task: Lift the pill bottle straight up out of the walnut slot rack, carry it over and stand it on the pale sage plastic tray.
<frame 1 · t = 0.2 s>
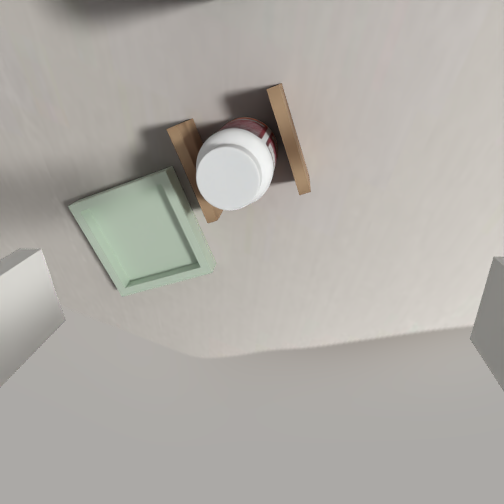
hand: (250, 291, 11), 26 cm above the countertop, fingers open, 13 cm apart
pill bottle: (247, 149, 35), on the countertop
rack: (247, 149, 35), on the countertop
tray: (148, 232, 40), on the countertop
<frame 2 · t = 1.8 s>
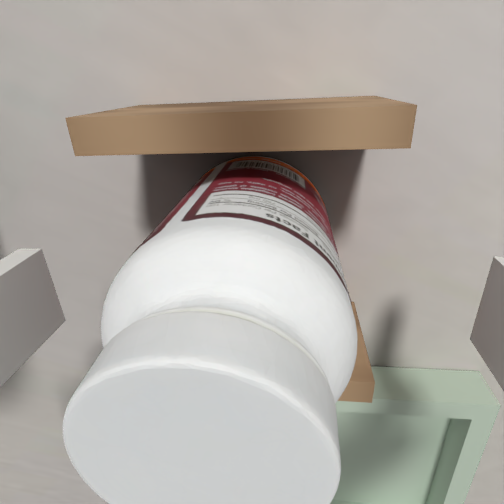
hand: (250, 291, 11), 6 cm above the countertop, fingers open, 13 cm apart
pill bottle: (257, 221, 16), on the countertop
rack: (256, 223, 16), on the countertop
tray: (348, 441, 21), on the countertop
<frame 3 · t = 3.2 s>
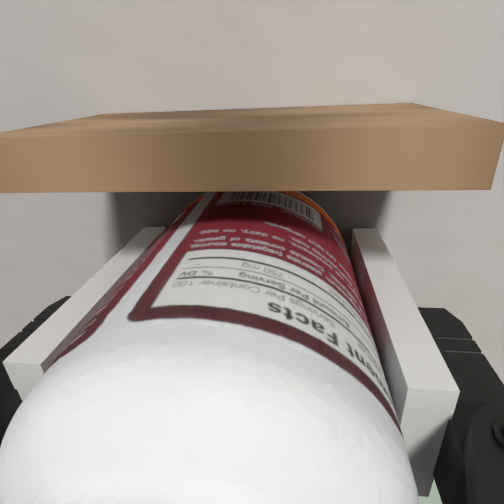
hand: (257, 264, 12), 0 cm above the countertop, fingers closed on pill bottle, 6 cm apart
pill bottle: (258, 258, 13), on the countertop, touching gripper
rack: (255, 261, 12), on the countertop
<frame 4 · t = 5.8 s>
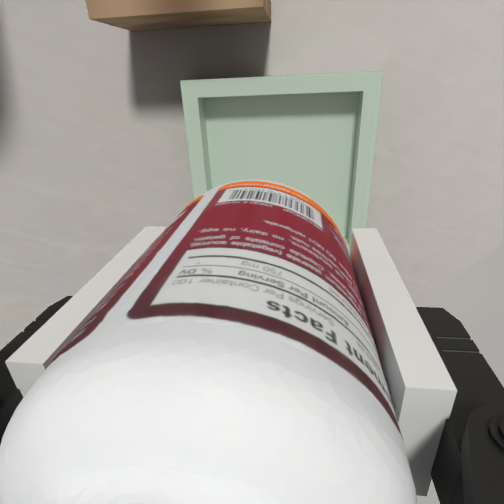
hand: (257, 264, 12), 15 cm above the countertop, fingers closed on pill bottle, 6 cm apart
pill bottle: (259, 258, 13), point 14 cm above the countertop, touching gripper
tray: (280, 169, 25), on the countertop
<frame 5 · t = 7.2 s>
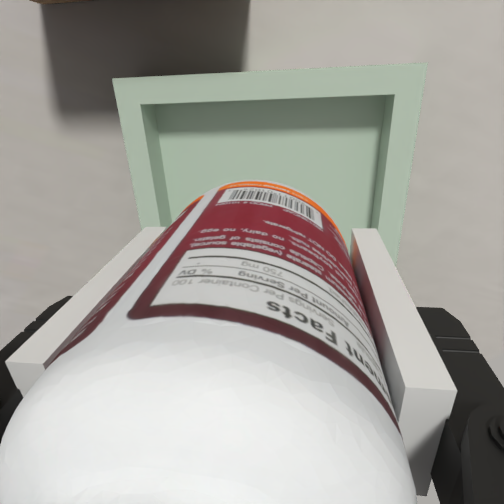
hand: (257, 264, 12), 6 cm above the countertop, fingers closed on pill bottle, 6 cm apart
pill bottle: (259, 258, 13), point 6 cm above the countertop, touching gripper
tray: (268, 204, 18), on the countertop
when the fingers open (2 cm above the countertop, at t = 8.4 s): pill bottle drops 1 cm, resting on tray.
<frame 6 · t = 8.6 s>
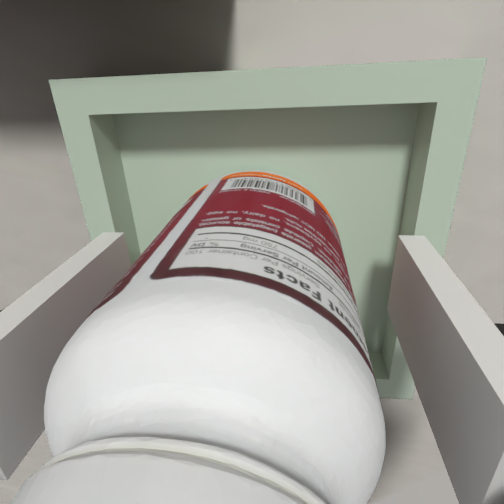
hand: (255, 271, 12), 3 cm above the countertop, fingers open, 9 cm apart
pill bottle: (258, 243, 14), resting on tray
tray: (263, 239, 14), on the countertop
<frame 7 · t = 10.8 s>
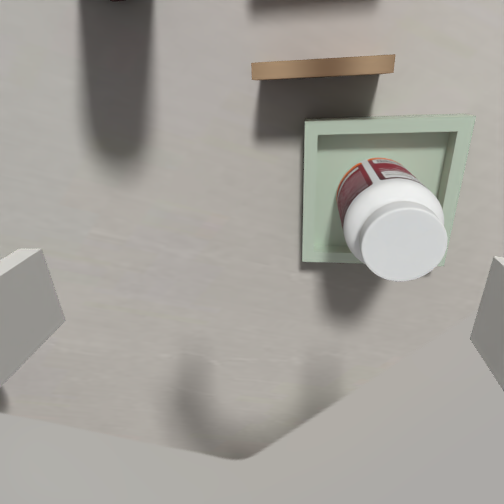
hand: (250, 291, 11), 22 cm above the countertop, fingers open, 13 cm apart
pill bottle: (373, 191, 30), resting on tray
tray: (374, 190, 30), on the countertop
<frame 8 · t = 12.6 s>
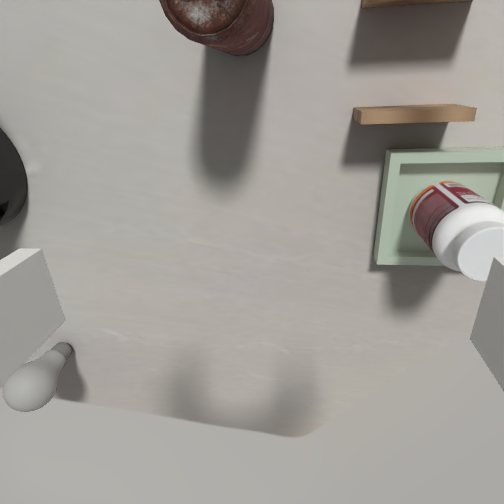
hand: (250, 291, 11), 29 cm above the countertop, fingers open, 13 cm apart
can: (242, 17, 32), on the countertop
lightbulb: (67, 344, 53), on the countertop
pill bottle: (438, 207, 37), resting on tray
rack: (409, 57, 32), on the countertop
tray: (438, 206, 37), on the countertop
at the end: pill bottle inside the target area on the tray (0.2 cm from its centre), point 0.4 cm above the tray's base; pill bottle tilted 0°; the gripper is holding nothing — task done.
